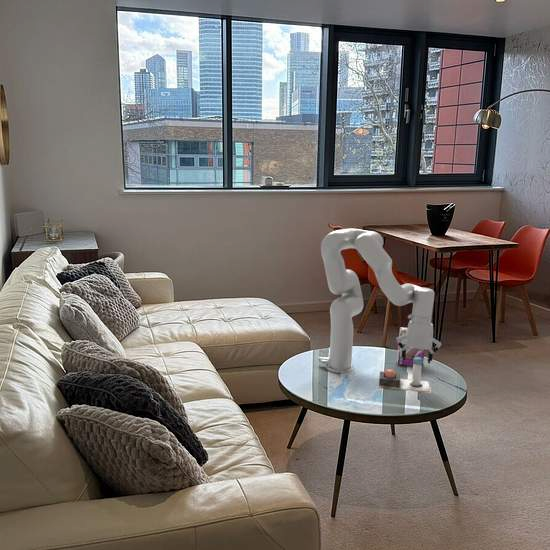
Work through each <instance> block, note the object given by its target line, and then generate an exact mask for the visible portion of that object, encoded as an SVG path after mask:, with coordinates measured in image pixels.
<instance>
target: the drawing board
mask: <svg viewBox="0 0 550 550" xmlns="http://www.w3.org/2000/svg"><path fill="white" fill-rule="evenodd" d="M378 380H379V382H378V388H379V389H390V390H397V391H398V390H399V391H408V392H417V393H418V392H419V393H426V394H432V390H431V383H430V381H428V380H420V386H413V385H412V378H411V379H410V378H401V373H400V372H395V378H386V377H385V371H379V379H378Z"/></svg>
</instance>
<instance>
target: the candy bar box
mask: <svg viewBox="0 0 550 550" xmlns="http://www.w3.org/2000/svg"><path fill="white" fill-rule="evenodd" d="M407 328H408V327H403V326H402V327H399V334H398V335H399V336H398V337H400V336H403V335H406V333H407ZM405 341H406V339H403V340H401V343H402V344H403V345H404V344H405ZM397 345H398V344H397ZM425 350H426V349H418V348H410V347H408V348H406V356H405V360H403V357H402V349H401V347H400V346H399V345H398V346H397V354H396V355H397V357H396V363H397V365H398V366H406V367H407V366H409V367H413V364H414V363H413V361H414V357H420V358H422V359H423V360H422V368H423V366H424V360H425V359H424V356H425Z"/></svg>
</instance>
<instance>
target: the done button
mask: <svg viewBox="0 0 550 550" xmlns="http://www.w3.org/2000/svg"><path fill="white" fill-rule="evenodd" d="M384 372H385V377H386V378H395V373H396V370H395V369H391V368H387V369H385V370H384Z"/></svg>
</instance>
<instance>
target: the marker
mask: <svg viewBox="0 0 550 550" xmlns="http://www.w3.org/2000/svg"><path fill="white" fill-rule="evenodd" d="M422 360H423V359H422V358H420V357H414V361H413V363H414V364H413V366H412V367H413V368H412V378H411V380H412V385H413V386H420V380H421V378H422V368H423V367H422ZM423 361H424V360H423ZM421 381H422V380H421Z"/></svg>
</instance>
